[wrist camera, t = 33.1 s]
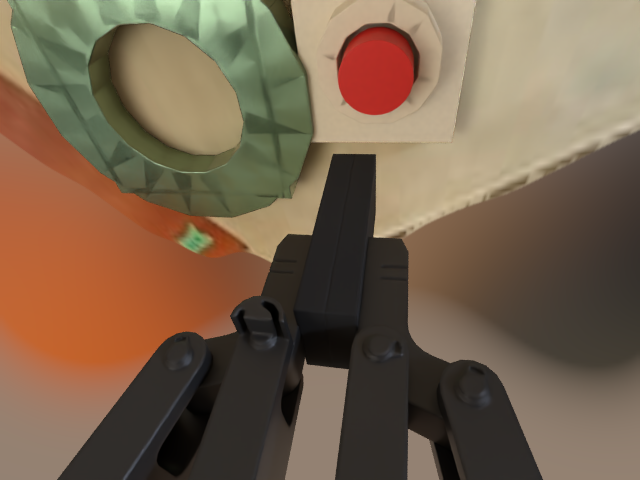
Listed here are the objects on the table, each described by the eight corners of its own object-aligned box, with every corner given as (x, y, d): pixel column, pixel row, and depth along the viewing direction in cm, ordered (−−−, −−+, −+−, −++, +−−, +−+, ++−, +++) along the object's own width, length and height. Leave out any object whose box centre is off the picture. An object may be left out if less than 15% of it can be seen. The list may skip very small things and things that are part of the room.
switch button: (416, 24, 20) (416, 38, 18) (411, 98, 23) (410, 115, 21) (340, 28, 21) (335, 42, 19) (344, 99, 23) (340, 115, 22)
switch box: (485, -92, 19) (497, -81, 16) (450, 128, 27) (454, 159, 25) (290, -71, 21) (271, -58, 18) (314, 128, 29) (304, 158, 26)
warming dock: (294, -108, 20) (283, -103, 18) (328, 203, 34) (323, 222, 33) (-32, -68, 24) (-67, -61, 22) (124, 195, 38) (111, 212, 37)
